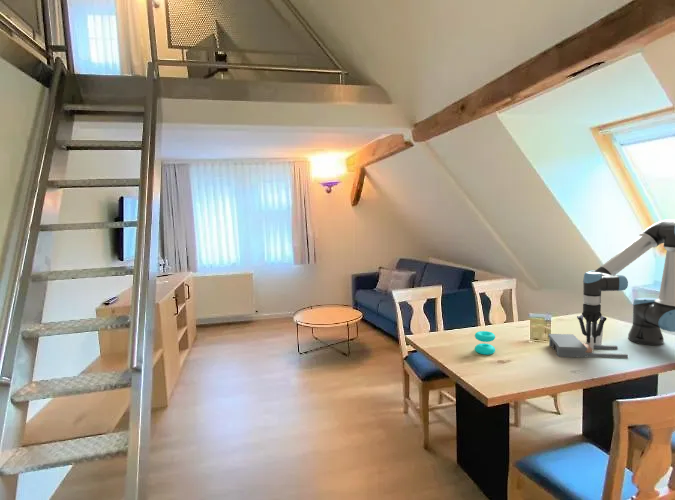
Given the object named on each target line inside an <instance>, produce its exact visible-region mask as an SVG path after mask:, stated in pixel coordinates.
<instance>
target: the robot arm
mask: <svg viewBox="0 0 675 500" xmlns="http://www.w3.org/2000/svg"><path fill="white" fill-rule="evenodd" d="M661 244H663V246H662V247H663V248H664V249H665V251H666V253H665V258H664V265H663V270H662V277H661V283H660V287H659V295H658V298H657V297H636V298H635V299H634V300H633V303H632V325H631V328H630V330H629V332H628V337H627V339H628V340H629V341H631V342H633V343H635V344H640V345H646V346H647V345H648V346H661V345H663V344H664V342H665V341H664V340H665V339H664V335H663V333H662V330H663V331H667V332H670V333H675V219H663V220H660V221H658V222H655V223H653V224H652V225H650V226H649V227H647V228H645V230H643V231H642V232H640V233H639V236H638V237H637V238H636V239H635V240H633V241H632V242H631V243H630V244H628V245H627V246H626V247H625V248H623V249H622V250H620V251H619V252H618V253H616V254H615V255H614V256H612V257H611V258H610V259H608V260H607V261H606V262H604V264H602V265H600V266H599V267H598V268H597V269H591V270H589V271H586V272H584V274H583V281H582V283H583V285H582V286H583V288H582V290H583V291H582V293H583V294H582V295H583V296H582V297H583V298H582V302H583V303H582V313H581V314H580V315H577V316H576V318H577V320H578V322H579V326H580V329H581V334H582V335H584V336H585V337H586V336H587V340H586V343H587V344H588V343H589V344H588V345H589V346H590V347H591V348H592V351H594V350H595V349H594V343H596V337H597V336H600V335H601V331H602V328H603V329H604V325H605V322H606V321H607V317H606V316H605V315H602V313H601V311H602V309H601V308H602V305H601V303H602V292H620V291H626V289H628V287H629V286H628V285H629V281H628V279H627V277H626V276H625V275H621V274H619V273H620V272H621V271H622V270H624V269H625V268H626V267H628V266H629V265H630V264H632V263H633V262H634V261H636V260H637V259H639V258H640V257H641V256H643V255H644V254H645V253H647V252H648V251H649V250H651V249H652V248H654V249H655V248H657V247H658V246H659V245H661ZM583 320H585V322H586V323H585V322H584V321H583ZM591 323H592V336H591ZM597 324H598V328H597V331H596V327H597Z"/></svg>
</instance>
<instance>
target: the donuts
mask: <svg viewBox="0 0 675 500" xmlns="http://www.w3.org/2000/svg"><path fill="white" fill-rule="evenodd" d="M474 338H475V339H476V340H478V341H479V342H483V343H478V344H476V346H474V350H475V352H476V353H477V354H480V355H484V356H486V355H487V356H489V355H493V354H494V353H495V352H496V347H495V346H493V345H492V344H489V342H492V341H494V340H495V339H496V334H494V333H493V332H491V331H487V330H486V331H485V330H481V331H480V330H479V331H477V332H475V333H474Z"/></svg>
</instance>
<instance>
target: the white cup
mask: <svg viewBox="0 0 675 500" xmlns="http://www.w3.org/2000/svg"><path fill="white" fill-rule="evenodd" d="M598 324H599V323H597V327H596V331H597V328H598ZM603 333H604V327H603V328H602V331H601V335H600V336H597V337H596V343H594V345H602V342H603ZM591 336H592V322H591ZM585 338H586V341H587V336H585ZM587 344H589V343H587Z"/></svg>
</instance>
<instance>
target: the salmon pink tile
mask: <svg viewBox="0 0 675 500" xmlns="http://www.w3.org/2000/svg"><path fill="white" fill-rule="evenodd" d="M581 343H582V344H584V345H585V346H586V347H587V351H585V352H588V353H593V350H592V348H591V347H590V346H589V345H588V343H587V342H586V343H583V342H581Z"/></svg>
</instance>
